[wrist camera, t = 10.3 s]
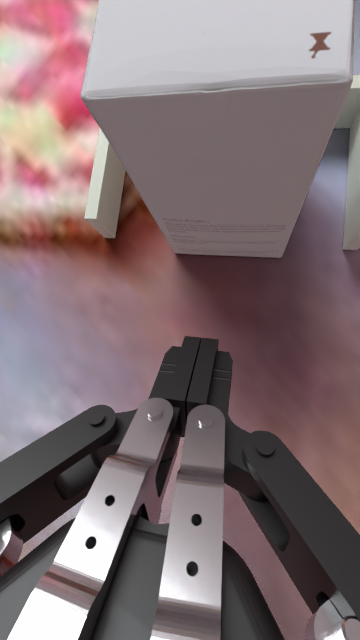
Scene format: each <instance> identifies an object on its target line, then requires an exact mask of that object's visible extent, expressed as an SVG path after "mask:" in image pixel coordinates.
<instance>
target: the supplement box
mask: <svg viewBox="0 0 360 640" xmlns="http://www.w3.org/2000/svg"><path fill="white" fill-rule="evenodd" d="M354 1H355V0H99V4H98V11H97V16H96V21H95V26H94V31H93V36H92V41H91V46H90V51H89V56H88V61H87V66H86V72H85V77H84V82H83V87H82V91H81V98H82V100H83V102H84V103H85V105H86V107H87V108H88V110H89V111H90V113H91V114H92V116H93V117H94V119H95V120H96V122H97V124H98V125H99V127H100V128H101V130H102V132H103V133H104V135H105V137H106V138H107V140H108V142H109V143H110V145H111V147H112V148H113V150H114V152H115V153H116V155H117V157H118V158H119V160H120V162H121V164H122V165H123V167H124V169H125V170H126V172H127V174H128V175H129V177H130V179H131V180H132V182H133V184H134V186H135V187H136V189H137V191H138V193H139V194H140V196H141V197H142V199H143V201H144V203H145V204H146V206H147V208H148V209H149V211H150V213H151V215H152V216H153V218H154V219H155V221H156V223H157V225H158V226H159V228H160V230H161V231H162V233H163V235H164V236H165V238H166V239H167V241H168V243H169V244H170V246H171V248H172V249H173V251H174V253H180V254H198V255H222V256H247V257H274V258H281V257H282V256H283V253H284V251H285V249H286V246H287V243H288V241H289V238H290V236H291V233H292V231H293V228H294V226H295V223H296V221H297V218H298V216H299V214H300V211H301V209H302V206H303V204H304V201H305V199H306V196H307V194H308V191H309V189H310V186H311V184H312V181H313V179H314V176H315V174H316V171H317V169H318V166H319V164H320V161H321V159H322V156H323V154H324V151H325V149H326V146H327V144H328V142H329V139H330V137H331V134H332V132H333V129H334V127H335V124H336V122H337V119H338V117H339V114H340V112H341V109H342V107H343V105H344V102H345V100H346V97H347V95H348V93H349V90H350V88H351V85H352V82H353V41H354Z"/></svg>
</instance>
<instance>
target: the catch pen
mask: <svg viewBox="0 0 360 640" xmlns="http://www.w3.org/2000/svg"><path fill="white" fill-rule="evenodd" d="M341 128H350V139H349V155H348V171H347V188H346V204H345V220H344V236H343V249H344V250H358V249H359V248H360V75H353V82H352V85H351V88H350V90H349V93H348V95H347V97H346V100H345V102H344V105H343V107H342V109H341V112H340V114H339V117H338V119H337V122H336V124H335V127H334V129H341ZM125 172H126V170H125V169H124V167H123V165H122V164H121V162H120V160H119V158H118V157H117V155H116V153H115V152H114V150H113V148H112V147H111V145H110V143H109V142H108V140H107V138H106V137H105V135H104V133H103V132H102V130H101V128H100V129H99V135H98V141H97V147H96V153H95V159H94V165H93V170H92V176H91V182H90V188H89V194H88V200H87V206H86V212H85V217H84V219H86V220H87V221H88V222H89V223H90V224H91V225H92V226H93V227H94V228H95V229H96V230H97V231H98V232H99V233H100V234H101V235H102V236H103V237H104V238H115V236H116V230H117V223H118V217H119V210H120V204H121V197H122V191H123V185H124V178H125Z"/></svg>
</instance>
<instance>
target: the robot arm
mask: <svg viewBox="0 0 360 640" xmlns="http://www.w3.org/2000/svg"><path fill="white" fill-rule="evenodd" d="M218 342H219V341H218V339H209V338H202V339H201V338H199V337H189V336H185V338H184V341H183V344H182V347H176V346H172V347H171V348H170V349H169V350H168V351H167V352H166V353H165V356H164V359H163V361H162V364H161V367H160V371H159V372H158V375H157V378H156V380H155V383H154V386H153V388H152V391H151V394H150V397H149V399H148V400H146V401H144V402H143V403H142V404H141V405H140V406H139V408H138V409H136V410H133V411H128V412H121V413H115V412H114V410H113V409H112V408H110V407H109V406H106V405H97V406H93V407H91V408H89V409H87V410H86V411H84V412H82V413H81V414H79V415H78V416H76V417H74V418H73V419H71V420H69V421H68V422H66V423H64V424H63V425H61V426H59V427H58V428H56V429H54V430H53V431H51V432H49V433H48V434H46V435H45V436H43V437H41V438H40V439H38V440H36V441H35V442H33V443H31V444H30V445H28V446H26V447H25V448H23V449H21V450H20V451H18V452H16V453H15V454H13V455H11V456H10V457H8V458H7V459H5V460H3V461H2V462H0V640H285V639H284V637H283V635H282V633H281V631H280V629H279V627H278V625H277V623H276V621H275V619H274V617H273V615H272V613H271V611H270V609H269V607H268V605H267V603H266V601H265V599H264V597H263V595H262V593H261V591H260V589H259V587H258V585H257V583H256V581H255V579H254V577H253V575H252V573H251V571H250V569H249V568H248V566H247V565H246V563H245V562H244V560H243V559H242V558H241V557H240V555H239V554H238V553H237V552H236V551H235V550H234V549H233V548H232V547H231V546H229V545H228V544H227V543H225V542H224V541H223V505H224V483H226V484H227V485H229V486H231V487H233V488H234V489H236V490H238V491H239V494H240V496H241V498H242V499H243V501H244V502H245V504H246V506H247V507H248V509H249V511H250V512H251V514H252V515H253V517H254V519H255V520H256V522H257V524H258V525H259V527H260V529H261V530H262V532H263V533H264V535H265V537H266V538H267V540H268V542H269V543H270V545H271V547H272V548H273V550H274V551H275V553H276V555H277V556H278V558H279V560H280V561H281V563H282V564H283V566H284V568H285V569H286V571H287V573H288V574H289V576H290V578H291V579H292V581H293V582H294V584H295V586H296V587H297V589H298V591H299V592H300V594H301V596H302V597H303V599H304V600H305V602H306V604H307V605H308V607H309V609H310V610H311V612H312V614H313V615H312V616H311V618H310V619H309V621H308V624H307V628H306V640H360V535H359V533H358V532H357V531H356V530H355V529H354V527H353V526H352V525H351V524H350V523H349V521H348V520H347V519H346V518H345V517H344V515H343V514H342V513H341V512H340V511H339V509H338V508H337V507H336V506H335V505H334V503H333V502H332V501H331V500H330V499H329V497H328V496H327V495H326V494H325V493H324V491H323V490H322V489H321V488H320V487H319V485H318V484H317V483H316V482H315V481H314V479H313V478H312V477H311V476H310V475H309V473H308V472H307V471H306V470H305V469H304V467H303V466H302V465H301V464H300V463H299V461H298V460H297V459H296V458H295V457H294V455H293V454H292V453H291V452H290V451H289V449H288V448H287V447H286V446H285V445H284V443H283V442H282V441H281V440H280V439H279V438H278V437H277V436H276V435H274V434H272V433H270V432H267V431H255V432H252V433H249V432H247V431H245V430H242V429H241V428H239V427H237V426H236V425H235V424H234V423H233V422H232V421H231V420H230V418H229V416H228V407H229V397H230V388H231V377H232V363H233V361H232V358H231V356H230V354H229V352H222V351H218ZM180 437H185V438H184V445H183V452H182V459H181V466H180V470H179V471H178V473H177V478H176V484H175V491H174V497H173V504H172V511H171V518H170V523H169V524H158V523H159V519H160V514H161V506H162V501H163V497H164V494H165V491H166V488H167V485H168V482H169V478H170V475H171V472H172V469H173V466H174V463H175V460H176V456H177V449H178V445H179V441H180ZM86 496H87V497H86ZM85 497H86V499H85V501H84V503H83V505H82V507H81V509H80V510H79V512H78V514H77V516H76V518H74V519H72V520H70V521H69V522H67V523H66V524H64V525H63V526H62V527H60V528H59V529H58V530H57V531H56V532H54V533H53V534H52V535H51V536H50V537H48V538H47V539H46V540H45V541H44V542H42V543H41V544H40V545H39V546H37V547H36V548H35V549H34V550H33V551H31V552H30V553H29V554H28V555H26V556H25V557H24V558H23V559H22V560H20V561H19V562H18V560H19V557H20V554H21V552H22V548H23V544H24V543H25V542H27V541H28V540H29V539H31V538H32V537H33V536H35V535H36V534H37V533H39V532H40V531H41V530H42V529H44V528H45V527H46V526H48V525H49V524H50V523H52V522H53V521H54V520H56V519H57V518H58V517H60V516H61V515H62V514H64V513H65V512H66V511H68V510H69V509H70V508H72V507H73V506H74V505H76V504H77V503H78V502H80V501H81V500H82V499H84V498H85ZM17 562H18V563H17Z"/></svg>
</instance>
